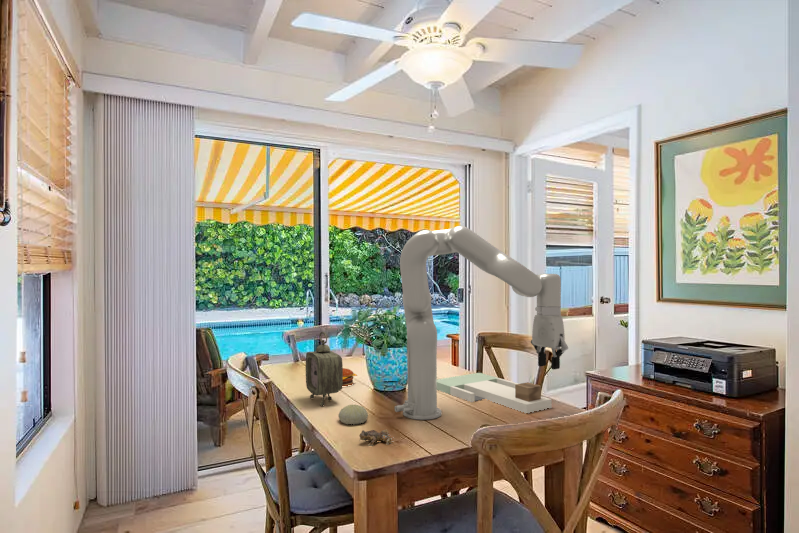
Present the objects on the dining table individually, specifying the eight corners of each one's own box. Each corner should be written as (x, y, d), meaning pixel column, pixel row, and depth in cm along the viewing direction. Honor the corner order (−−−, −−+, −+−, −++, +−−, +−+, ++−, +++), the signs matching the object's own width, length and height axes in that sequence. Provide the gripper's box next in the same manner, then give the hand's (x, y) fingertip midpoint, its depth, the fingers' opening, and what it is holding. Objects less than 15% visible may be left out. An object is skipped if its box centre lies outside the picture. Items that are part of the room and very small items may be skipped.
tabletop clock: (305, 398, 179) (305, 330, 179) (329, 395, 184) (328, 328, 184) (319, 408, 167) (319, 335, 166) (344, 404, 171) (343, 333, 171)
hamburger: (340, 381, 206) (340, 365, 206) (358, 384, 201) (358, 368, 201) (325, 385, 198) (325, 369, 198) (343, 389, 193) (343, 372, 193)
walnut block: (528, 401, 163) (528, 388, 163) (515, 397, 169) (515, 384, 168) (540, 399, 167) (540, 385, 167) (527, 395, 172) (527, 382, 172)
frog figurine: (369, 454, 128) (369, 439, 128) (348, 440, 138) (348, 426, 138) (405, 445, 134) (405, 431, 134) (383, 432, 145) (383, 419, 145)
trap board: (512, 417, 157) (512, 407, 157) (431, 387, 194) (431, 380, 194) (564, 404, 170) (564, 396, 170) (479, 379, 207) (479, 372, 207)
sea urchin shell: (342, 422, 147) (338, 398, 152) (339, 434, 152) (336, 411, 158) (371, 419, 149) (367, 396, 155) (367, 431, 155) (363, 408, 160)
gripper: (521, 310, 165) (521, 364, 165) (562, 314, 151) (562, 373, 151) (536, 309, 169) (536, 361, 169) (578, 313, 155) (578, 370, 155)
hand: (548, 366), depth 160 cm, fingers open, 4 cm apart
